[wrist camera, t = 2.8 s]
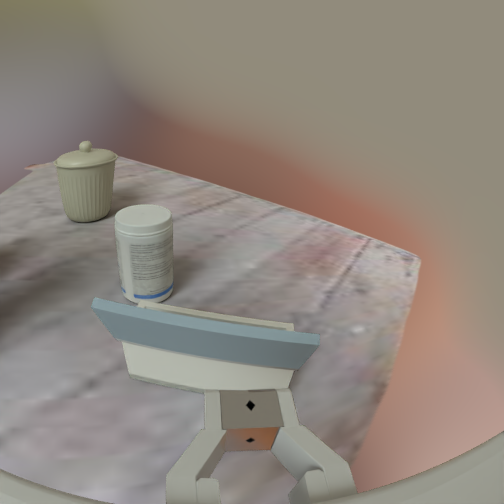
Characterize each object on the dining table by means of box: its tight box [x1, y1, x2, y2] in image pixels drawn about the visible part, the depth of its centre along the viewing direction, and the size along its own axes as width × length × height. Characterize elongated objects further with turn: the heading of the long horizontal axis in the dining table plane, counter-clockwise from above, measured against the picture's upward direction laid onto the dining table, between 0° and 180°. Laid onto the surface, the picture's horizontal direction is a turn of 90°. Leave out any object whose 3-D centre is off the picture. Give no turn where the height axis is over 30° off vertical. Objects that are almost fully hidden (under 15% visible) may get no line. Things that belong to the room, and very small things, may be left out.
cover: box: [91, 297, 320, 371], centre depth 28 cm, size 20×9×1 cm
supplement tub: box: [115, 204, 173, 303], centre depth 50 cm, size 10×10×15 cm
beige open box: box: [122, 300, 294, 394], centre depth 37 cm, size 20×7×8 cm, turn 87°
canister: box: [54, 141, 118, 222], centre depth 73 cm, size 18×18×21 cm
